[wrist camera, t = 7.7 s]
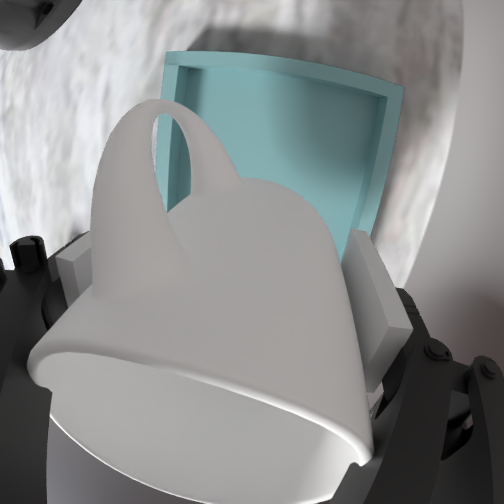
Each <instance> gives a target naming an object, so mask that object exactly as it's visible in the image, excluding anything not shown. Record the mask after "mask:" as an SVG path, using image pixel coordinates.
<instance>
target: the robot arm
mask: <svg viewBox="0 0 504 504" xmlns="http://www.w3.org/2000/svg"><path fill="white" fill-rule="evenodd" d="M80 1H81V0H0V49H2V50H20V51H22V50H28V49H31V48H33V47H35V46H37V45H38V44H40V43H42V42H43V41H44V40H46V39H47V38H48V37H49V36H51V35H52V34H53V33H54V32H55V31H56V30H57V29H58V28H59V27H60V26H61V25H62V24H63V23H64V22H65V20H66V19H67V18H68V17H69V16H70V14H71V13H72V12H73V11H74V9H75V8H76V7H77V5H78V4H79V2H80ZM161 197H162V194H161ZM10 250H11V254H12V258H13V262H14V266H15V269H14V270H5V269H4V265H3V262H2V259H1V258H0V504H47V489H46V461H47V440H48V427H49V417H50V408H51V400H52V393H53V392H51V391H50V390H49V389H48V388H45V387H41V386H39V385H37V384H35V382H34V381H33V380H32V378H31V377H30V375H29V373H28V370H27V362H28V358H29V355H30V351H31V350H32V349H33V348H34V347H35V345H36V344H37V343H38V342H39V341H40V340H41V339H42V337H43V336H44V335H45V334H46V333H47V332H48V331H49V329H50V328H51V327H52V326H53V325H54V324H55V323H56V322H57V320H58V319H59V318H60V317H61V316H62V315H63V314H64V313H65V312H66V310H67V309H68V308H69V307H70V306H71V305H72V304H73V303H74V302H75V301H76V300H77V299H78V298H79V297H80V295H81V294H82V293H83V292H84V291H85V290H86V289H87V288H88V287H89V286H90V285H91V284H92V265H91V230H90V231H88V232H86V233H83V234H81V235H79V236H77V237H76V238H75V239H73V240H72V242H69V243H68V244H66V245H65V247H62V248H61V249H60V250H58V251H57V252H56V253H54V254H53V255H52V256H50V257H49V258H48V259H47V256H46V251H45V246H44V240H43V239H42V238H41V237H39V236H26V237H23V238H20V239H18V240H16V241H14V242H13V243H12V244H11V245H10ZM341 267H342V271H343V275H344V280H345V284H346V288H347V292H348V296H349V301H350V305H351V310H352V314H353V319H354V324H355V328H356V333H357V338H358V343H359V349H360V354H361V359H362V365H363V371H364V377H365V383H366V389H367V392H373V393H374V392H375V390H376V389H377V387H378V386H379V384H380V383H381V382H382V384H383V389H384V392H383V394H382V395H381V396H380V398H379V399H378V400H377V402H376V403H375V404H374V406H373V407H372V408H371V410H370V414H372V412H373V411H374V412H373V414H372V417H371V425H372V433H373V442H374V455H373V457H372V458H371V459H370V460H369V461H368V462H367V463H366V464H364V465H363V466H359V464H357V463H356V462H353V463H351V464H350V465H349V467H348V469H347V471H346V473H345V475H344V477H343V479H342V481H341V482H340V484H339V486H338V488H337V490H336V492H335V493H334V495H333V497H332V499H331V500H330V502H329V504H504V376H503V374H502V371H501V370H500V367H499V366H498V365H497V364H496V362H495V361H494V360H492V359H491V358H488V357H486V356H477V357H475V358H474V360H473V361H472V363H471V364H470V365H469V366H467V365H464V364H461V363H458V362H456V361H453V358H452V354H451V352H450V350H449V349H448V348H447V347H446V346H445V345H444V344H443V343H442V342H440V341H438V340H437V339H434V338H431V337H430V335H429V333H428V330H427V328H426V326H425V324H424V322H423V320H422V318H421V316H419V314H420V313H419V311H418V309H417V308H416V305H415V303H414V301H413V299H412V297H411V296H410V295H409V294H408V293H407V292H406V291H405V290H404V289H401V288H396V287H395V286H394V284H393V282H392V280H391V278H390V276H389V274H388V272H387V270H386V268H385V265H384V263H383V261H382V259H381V257H380V256H379V254H378V252H377V250H376V248H375V246H374V244H373V242H372V240H371V238H370V236H369V234H368V233H367V231H363V230H358V229H354V228H351V230H350V234H349V238H348V241H347V244H346V248H345V251H344V254H343V258H342V261H341ZM471 417H472V420H473V425H472V426H471V427H470V428H467V425H466V422H467V420H469V419H470V418H471Z"/></svg>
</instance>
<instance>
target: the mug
mask: <svg viewBox="0 0 504 504" xmlns="http://www.w3.org/2000/svg"><path fill="white" fill-rule="evenodd" d="M159 114H168V115H170V116H171V117H172V118H174V119H175V120H176V122H177V123H178V124H179V126H180V128H181V130H182V131H183V133H184V136H185V139H186V142H187V145H188V149H189V155H190V162H191V194H190V195H189V196H188V197H186V198H185V199H183V200H182V201H181V202H180V203H178V204H177V205H176V206H175V207H174V208H173V209H171V210H170V211H169V212H168V213H167V212H166V209H165V206H164V203H163V200H162V197H161V194H160V190H159V187H158V183H157V179H156V175H155V171H154V164H153V157H152V130H153V123H154V121H155V118H156V117H157V116H158V115H159ZM91 265H92V284H91V285H90V286H89V287H88V288H87V289H86V290H85V291H84V292H83V293H82V294H81V295H80V297H79V298H78V299H77V300H76V301H75V302H74V303H73V304H72V305H71V306H70V307H69V308H68V309H67V310H66V312H65V313H64V314H63V315H62V316H61V317H60V318H59V319H58V320H57V322H56V323H55V324H54V325H53V326H52V327H51V328H50V329H49V331H48V332H47V333H46V334H45V335H44V336H43V337H42V339H41V340H40V341H39V342H38V343H37V344H36V345H35V347H34V348H33V349H32V350H31V351H30V355H29V358H28V362H27V370H28V373H29V375H30V377H31V378H32V380H33V381H34V382H35V384H37V385H39V386H41V387H45V388H48V389H49V390H50V391H51V392H53V393H52V400H51V408H50V417H51V418H52V419H53V420H54V421H55V423H56V424H57V425H58V426H59V427H60V428H61V429H62V430H63V431H64V432H65V433H66V434H67V435H68V436H69V437H70V438H72V439H73V440H74V441H75V442H76V443H77V444H79V445H80V446H81V447H82V448H84V449H85V450H86V451H88V452H89V453H91V454H92V455H93V456H95V457H96V458H98V459H99V460H100V461H102V462H104V463H105V464H107V465H108V466H110V467H112V468H113V469H115V470H117V471H119V472H121V473H122V474H124V475H126V476H128V477H130V478H132V479H135V480H137V481H139V482H141V483H143V484H145V485H148V486H150V487H153V488H155V489H158V490H160V491H163V492H166V493H169V494H172V495H176V496H178V497H182V498H186V499H189V500H193V501H197V502H202V503H207V504H314V503H318V502H322V501H326V500H329V499H332V497H333V495H334V493H335V492H336V490H337V488H338V486H339V484H340V482H341V481H342V479H343V477H344V475H345V473H346V471H347V469H348V467H349V465H350V464H351V463H353V462H356V463H357V464H359V466H363V465H364V464H366V463H367V462H368V461H369V460H370V459H371V458H372V457H373V455H374V442H373V433H372V425H371V418H370V410H369V403H368V396H367V389H366V383H365V377H364V371H363V365H362V359H361V354H360V349H359V343H358V338H357V333H356V328H355V324H354V319H353V314H352V310H351V305H350V301H349V296H348V292H347V288H346V284H345V280H344V275H343V271H342V267H341V264H340V260H339V256H338V252H337V249H336V246H335V243H334V240H333V237H332V235H331V233H330V230H329V228H328V226H327V224H326V223H325V221H324V220H323V218H322V217H321V215H320V214H319V213H318V212H317V210H316V209H315V208H314V207H313V206H312V205H311V204H310V203H309V202H308V201H306V200H305V199H304V198H303V197H302V196H300V195H299V194H297V193H296V192H294V191H293V190H291V189H289V188H287V187H285V186H283V185H280V184H278V183H275V182H272V181H268V180H264V179H258V178H247V177H240V176H239V174H238V172H237V170H236V168H235V166H234V164H233V162H232V160H231V158H230V156H229V155H228V153H227V151H226V150H225V148H224V146H223V145H222V143H221V142H220V140H219V139H218V137H217V136H216V135H215V134H214V132H213V131H212V130H211V129H210V127H209V126H208V125H207V124H206V123H205V122H204V121H203V120H202V119H201V118H200V117H199V116H198V115H196V114H195V113H194V112H193V111H191V110H190V109H188V108H187V107H185V106H183V105H181V104H179V103H176V102H173V101H170V100H164V99H151V100H147V101H144V102H142V103H140V104H137V105H136V106H134V107H133V108H132V109H131V110H129V111H128V112H127V113H126V114H125V115H124V116H123V117H122V118H121V120H120V121H119V122H118V124H117V125H116V127H115V128H114V130H113V131H112V133H111V134H110V136H109V138H108V141H107V143H106V146H105V149H104V151H103V154H102V157H101V159H100V162H99V166H98V170H97V175H96V179H95V183H94V188H93V197H92V208H91Z"/></svg>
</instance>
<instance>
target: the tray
mask: <svg viewBox="0 0 504 504" xmlns="http://www.w3.org/2000/svg"><path fill="white" fill-rule="evenodd" d="M404 89H405V87H403V86H400V85H397V84H394V83H391V82H388V81H385V80H381V79H378V78H375V77H372V76H368V75H365V74H361V73H357V72H353V71H350V70H346V69H341V68H337V67H333V66H328V65H324V64H319V63H314V62H308V61H303V60H297V59H291V58H284V57H277V56H269V55H260V54H249V53H237V52H218V51H170V52H166V58H165V65H164V73H163V81H162V89H161V98H160V99H164V100H170V101H173V102H176V103H179V104H181V105H183V106H185V107H187V108H188V109H190V110H191V111H193V112H194V113H195V114H196V115H198V116H199V117H200V118H201V119H202V120H203V121H204V122H205V123H206V124H207V125H208V126H209V127H210V129H211V130H212V131H213V132H214V134H215V135H216V136H217V137H218V139H219V140H220V142H221V143H222V145H223V146H224V148H225V150H226V151H227V153H228V155H229V156H230V158H231V160H232V162H233V164H234V166H235V168H236V170H237V172H238V174H239V176H240V177H247V178H258V179H264V180H268V181H272V182H275V183H278V184H280V185H283V186H285V187H287V188H289V189H291V190H293V191H294V192H296V193H297V194H299V195H300V196H302V197H303V198H304V199H305V200H306V201H308V202H309V203H310V204H311V205H312V206H313V207H314V208H315V209H316V210H317V212H318V213H319V214H320V215H321V217H322V218H323V220H324V221H325V223H326V224H327V226H328V228H329V230H330V233H331V235H332V237H333V240H334V243H335V246H336V249H337V252H338V256H339V260H340V264H341V261H342V258H343V254H344V251H345V248H346V244H347V241H348V238H349V234H350V230H351V228H354V229H358V230H363V231H367V233H368V234H369V236H370V235H371V232H372V228H373V225H374V222H375V218H376V215H377V211H378V208H379V204H380V201H381V197H382V193H383V189H384V186H385V182H386V178H387V174H388V170H389V166H390V161H391V157H392V153H393V148H394V143H395V139H396V134H397V129H398V124H399V118H400V113H401V107H402V101H403V95H404ZM155 175H156V179H157V183H158V187H159V190H160V194H162V200H163V203H164V206H165V209H166V212H167V213H168V212H169V211H170V210H171V209H173V208H174V207H175V206H176V205H177V204H178V203H180V202H181V201H182V200H183V199H185V198H186V197H188V196H189V195H190V194H191V162H190V155H189V149H188V145H187V142H186V139H185V136H184V133H183V131H182V130H181V128H180V126H179V124H178V123H177V122H176V120H175V119H174V118H172V117H171V116H170V115H168V114H159V119H158V132H157V147H156V166H155Z"/></svg>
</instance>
